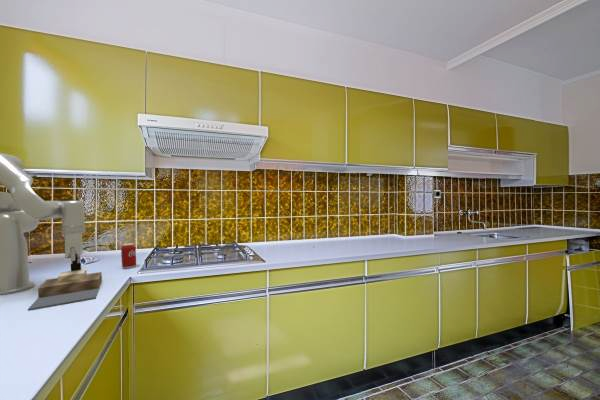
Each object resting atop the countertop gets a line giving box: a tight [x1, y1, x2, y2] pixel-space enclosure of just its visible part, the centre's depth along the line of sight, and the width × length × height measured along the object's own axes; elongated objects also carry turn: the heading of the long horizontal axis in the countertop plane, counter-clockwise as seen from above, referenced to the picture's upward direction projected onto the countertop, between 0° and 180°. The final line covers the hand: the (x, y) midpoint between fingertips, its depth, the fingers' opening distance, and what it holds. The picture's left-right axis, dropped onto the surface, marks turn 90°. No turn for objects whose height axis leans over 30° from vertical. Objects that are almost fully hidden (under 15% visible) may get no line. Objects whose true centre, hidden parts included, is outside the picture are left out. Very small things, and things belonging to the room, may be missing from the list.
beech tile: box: [57, 268, 88, 283], centre depth 113 cm, size 8×7×2 cm
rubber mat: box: [27, 288, 100, 312], centre depth 102 cm, size 18×11×1 cm, turn 121°
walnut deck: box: [37, 271, 103, 298], centre depth 112 cm, size 18×12×4 cm, turn 121°
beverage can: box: [120, 242, 137, 269], centre depth 144 cm, size 6×6×12 cm
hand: (76, 272), depth 119 cm, fingers closed
